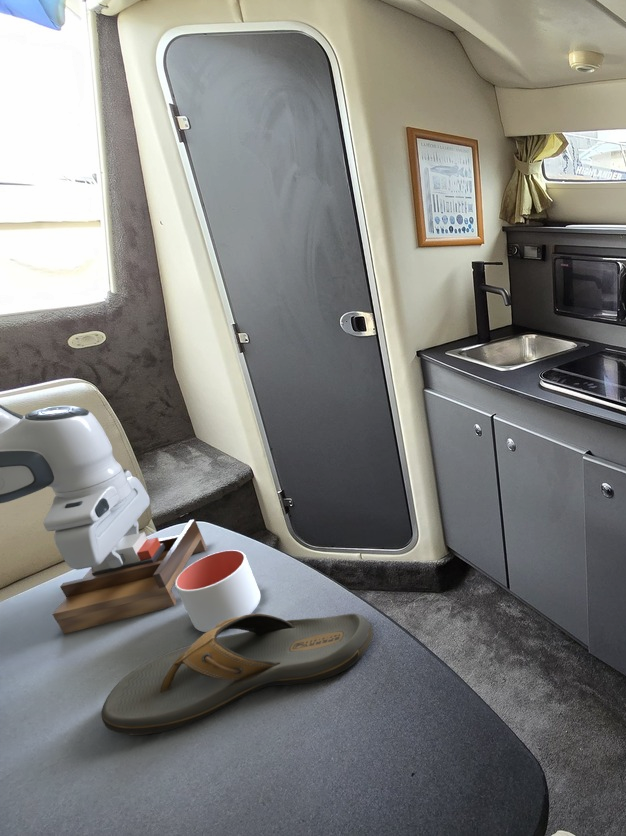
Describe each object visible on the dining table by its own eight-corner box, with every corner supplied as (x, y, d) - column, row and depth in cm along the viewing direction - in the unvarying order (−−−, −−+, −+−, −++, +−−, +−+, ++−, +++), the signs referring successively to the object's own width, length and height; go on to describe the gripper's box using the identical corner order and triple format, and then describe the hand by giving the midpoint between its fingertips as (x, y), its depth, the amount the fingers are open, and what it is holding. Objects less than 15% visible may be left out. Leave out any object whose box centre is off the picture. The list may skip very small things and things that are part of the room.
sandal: (154, 663, 80) (131, 620, 76) (380, 615, 87) (368, 573, 83) (95, 752, 67) (64, 705, 63) (365, 687, 74) (350, 641, 70)
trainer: (94, 578, 90) (79, 550, 87) (108, 560, 94) (94, 534, 92) (154, 564, 92) (141, 537, 90) (165, 547, 97) (153, 521, 94)
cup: (209, 600, 92) (190, 557, 88) (269, 586, 94) (253, 544, 91) (184, 643, 83) (162, 597, 79) (252, 626, 86) (233, 582, 82)
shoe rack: (65, 636, 85) (43, 600, 83) (115, 571, 100) (98, 539, 97) (175, 607, 90) (159, 573, 87) (208, 549, 105) (195, 519, 102)
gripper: (104, 468, 95) (132, 526, 100) (35, 530, 77) (73, 597, 83) (144, 461, 97) (170, 518, 102) (85, 520, 79) (120, 586, 84)
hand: (126, 554), depth 92 cm, fingers closed on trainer, 4 cm apart
